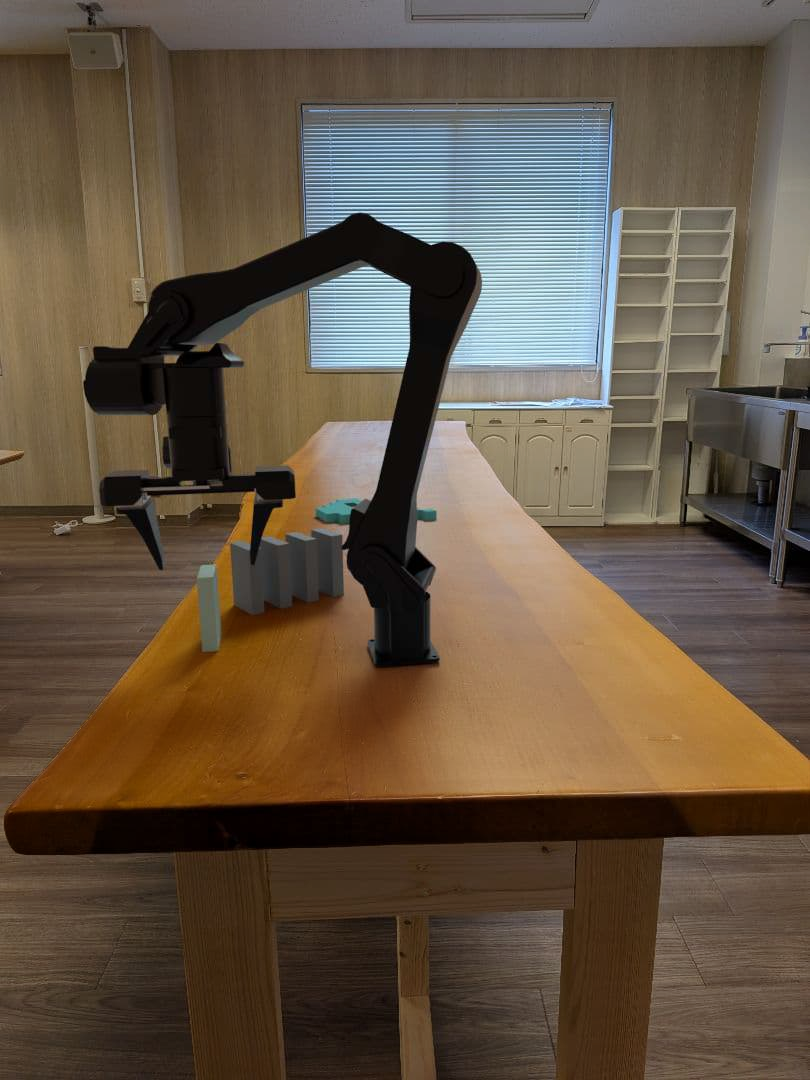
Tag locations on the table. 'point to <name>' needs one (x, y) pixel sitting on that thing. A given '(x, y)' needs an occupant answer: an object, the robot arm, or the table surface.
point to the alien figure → (343, 507)
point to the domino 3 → (303, 566)
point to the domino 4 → (329, 561)
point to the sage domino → (209, 608)
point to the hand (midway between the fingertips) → (207, 566)
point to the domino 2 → (276, 572)
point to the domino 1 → (247, 579)
